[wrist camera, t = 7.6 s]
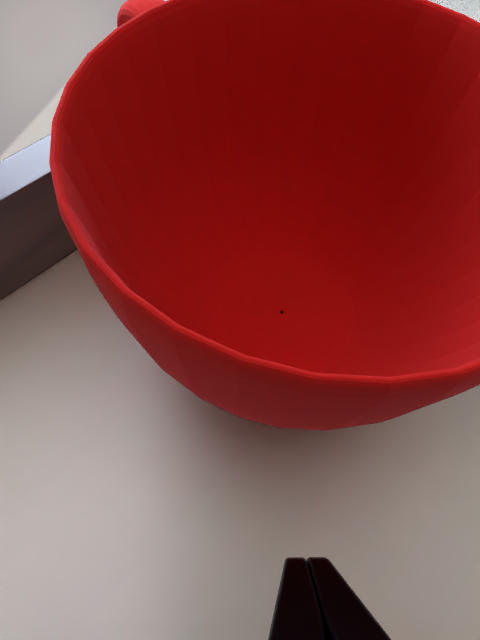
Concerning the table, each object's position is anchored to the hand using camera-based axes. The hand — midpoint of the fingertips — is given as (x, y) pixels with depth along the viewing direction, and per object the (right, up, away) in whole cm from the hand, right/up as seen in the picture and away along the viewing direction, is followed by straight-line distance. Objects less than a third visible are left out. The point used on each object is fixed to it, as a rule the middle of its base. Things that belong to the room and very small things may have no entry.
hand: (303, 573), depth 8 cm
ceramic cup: (-1, +6, +11) cm, 13 cm away
